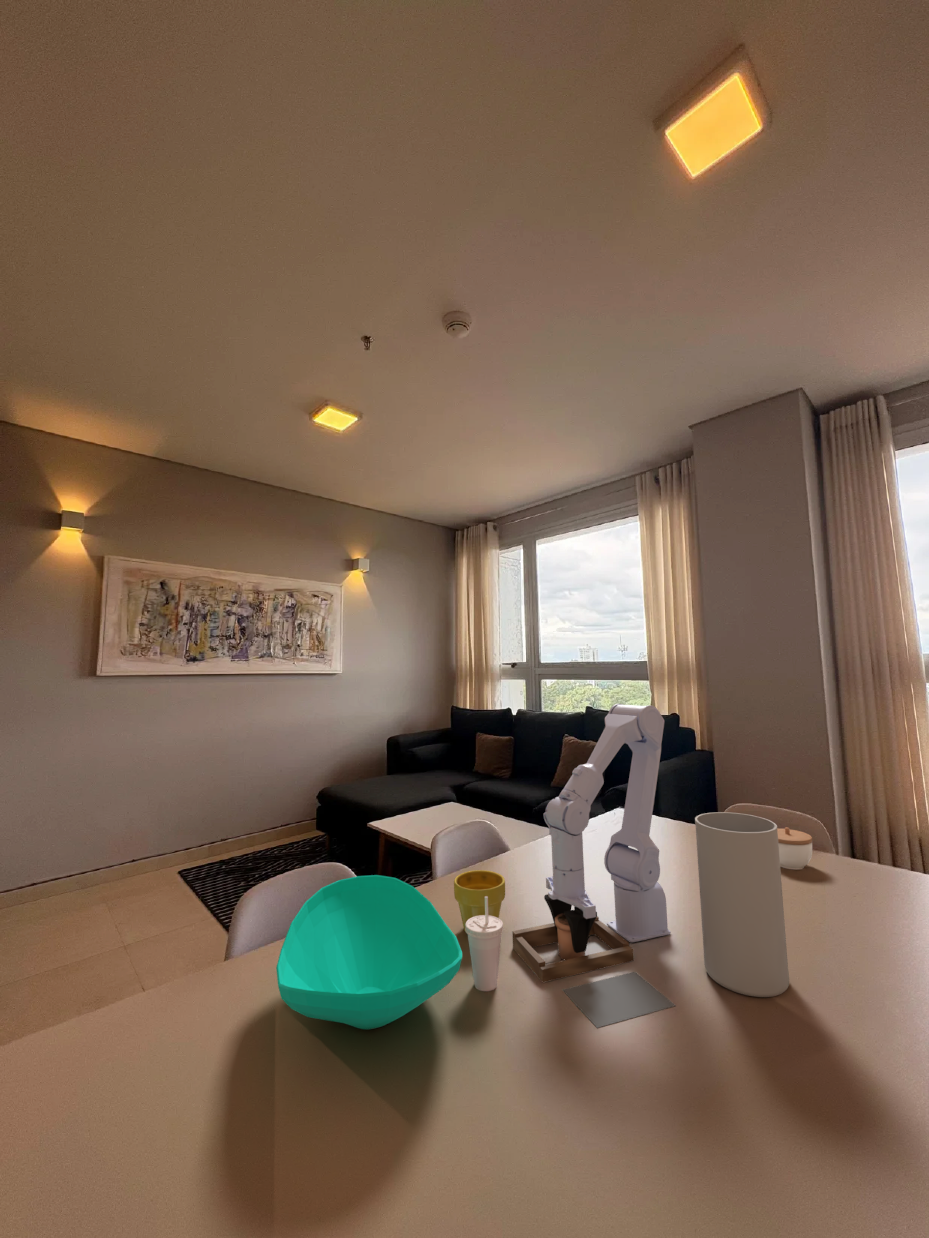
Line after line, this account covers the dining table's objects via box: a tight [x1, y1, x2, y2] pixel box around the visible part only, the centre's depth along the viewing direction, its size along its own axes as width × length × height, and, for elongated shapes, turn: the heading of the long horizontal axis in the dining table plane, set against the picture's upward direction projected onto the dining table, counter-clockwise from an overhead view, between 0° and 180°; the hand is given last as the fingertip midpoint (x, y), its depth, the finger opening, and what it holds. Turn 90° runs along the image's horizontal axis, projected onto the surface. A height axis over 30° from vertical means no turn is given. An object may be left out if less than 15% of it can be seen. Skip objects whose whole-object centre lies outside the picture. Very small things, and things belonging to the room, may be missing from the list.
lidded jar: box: [777, 827, 813, 871], centre depth 138 cm, size 11×11×9 cm
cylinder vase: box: [694, 811, 790, 998], centre depth 90 cm, size 12×12×25 cm
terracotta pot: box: [555, 913, 586, 960], centre depth 98 cm, size 6×6×6 cm
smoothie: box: [464, 896, 504, 992], centre depth 89 cm, size 6×6×14 cm
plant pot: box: [453, 869, 506, 933], centre depth 108 cm, size 10×10×10 cm
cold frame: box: [511, 915, 635, 983], centre depth 98 cm, size 18×12×3 cm, turn 109°
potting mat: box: [562, 971, 677, 1029], centre depth 84 cm, size 14×10×1 cm
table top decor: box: [275, 874, 463, 1030], centre depth 83 cm, size 40×28×13 cm
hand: (571, 943), depth 98 cm, fingers closed on terracotta pot, 5 cm apart
